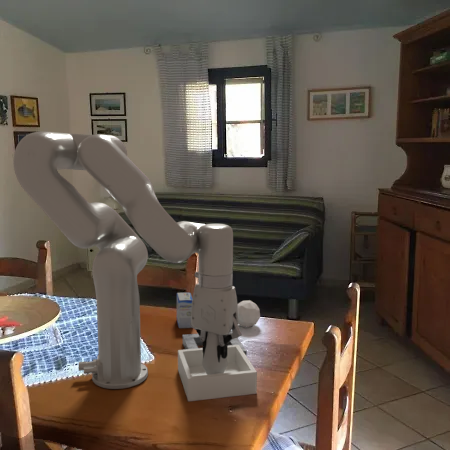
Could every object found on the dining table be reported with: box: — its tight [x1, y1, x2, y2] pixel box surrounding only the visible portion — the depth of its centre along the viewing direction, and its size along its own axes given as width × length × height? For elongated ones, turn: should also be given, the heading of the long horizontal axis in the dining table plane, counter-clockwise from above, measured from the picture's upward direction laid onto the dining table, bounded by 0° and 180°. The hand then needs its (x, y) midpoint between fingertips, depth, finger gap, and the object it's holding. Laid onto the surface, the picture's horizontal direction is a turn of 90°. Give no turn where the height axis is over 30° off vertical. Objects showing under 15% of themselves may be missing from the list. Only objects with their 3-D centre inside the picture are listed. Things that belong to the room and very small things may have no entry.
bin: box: [177, 345, 258, 402], centre depth 110 cm, size 15×15×5 cm
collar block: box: [182, 330, 248, 357], centre depth 127 cm, size 14×14×2 cm
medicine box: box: [176, 292, 193, 329], centre depth 146 cm, size 8×4×9 cm, turn 10°
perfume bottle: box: [237, 299, 261, 328], centre depth 143 cm, size 8×8×12 cm
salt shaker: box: [202, 332, 228, 375], centre depth 110 cm, size 6×6×13 cm
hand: (214, 357), depth 110 cm, fingers closed on salt shaker, 3 cm apart
